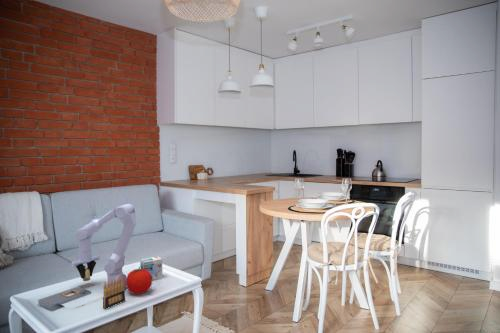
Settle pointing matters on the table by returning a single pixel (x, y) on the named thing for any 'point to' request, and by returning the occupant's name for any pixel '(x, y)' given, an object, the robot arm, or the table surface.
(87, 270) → the brass peg
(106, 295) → the ammunition clip
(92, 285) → the gray square block
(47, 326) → the table surface
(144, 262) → the light bulb box
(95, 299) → the table surface
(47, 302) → the plate
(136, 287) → the tomato
